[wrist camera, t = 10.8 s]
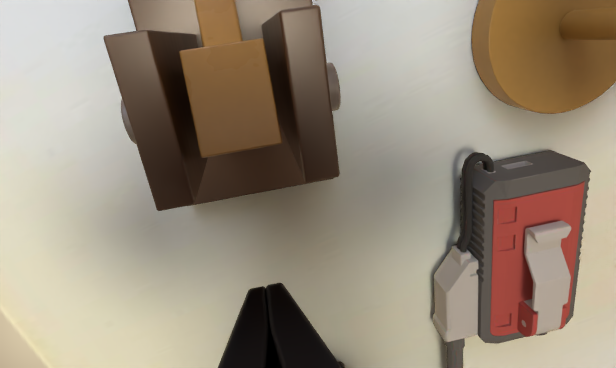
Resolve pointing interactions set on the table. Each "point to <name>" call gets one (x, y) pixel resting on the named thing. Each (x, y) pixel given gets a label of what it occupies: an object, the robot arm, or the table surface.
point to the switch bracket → (177, 112)
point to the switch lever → (229, 84)
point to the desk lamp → (545, 51)
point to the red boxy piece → (512, 250)
